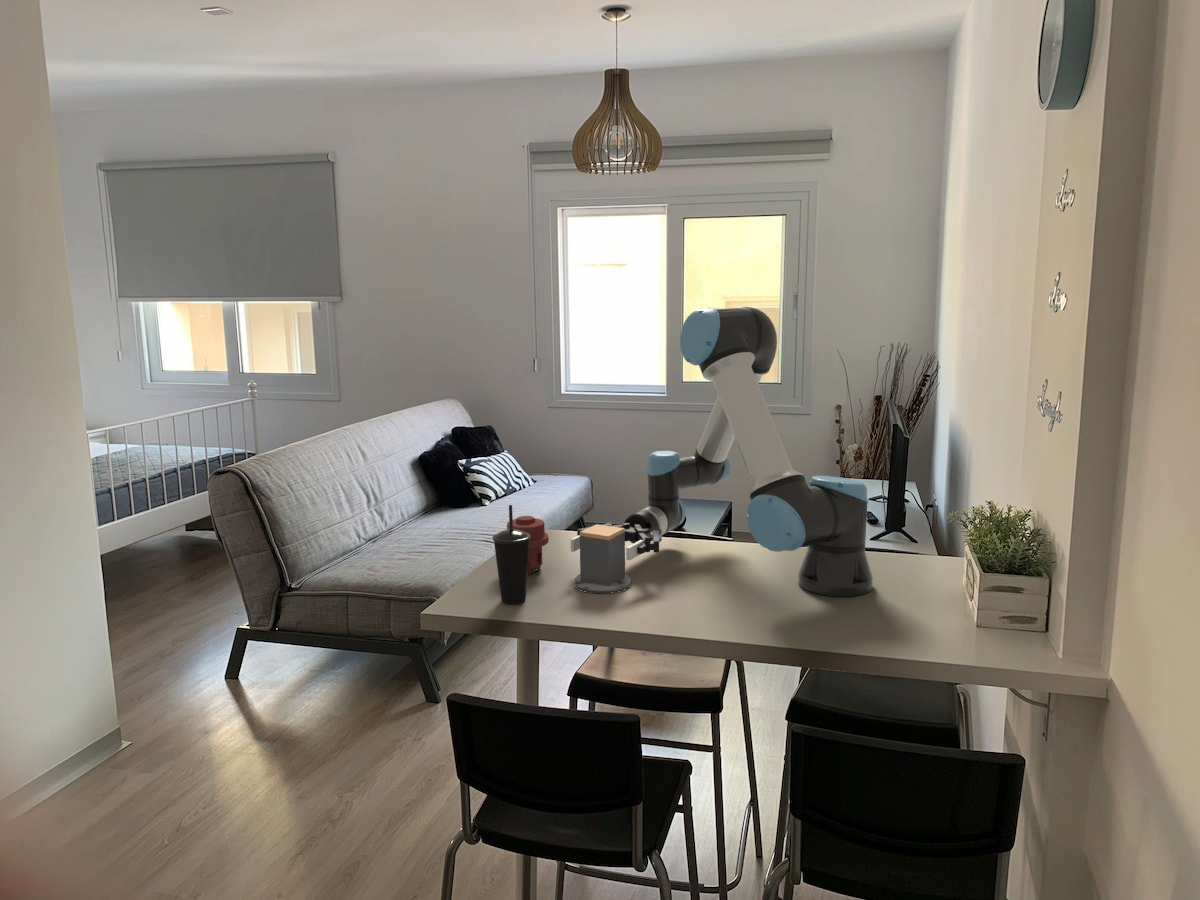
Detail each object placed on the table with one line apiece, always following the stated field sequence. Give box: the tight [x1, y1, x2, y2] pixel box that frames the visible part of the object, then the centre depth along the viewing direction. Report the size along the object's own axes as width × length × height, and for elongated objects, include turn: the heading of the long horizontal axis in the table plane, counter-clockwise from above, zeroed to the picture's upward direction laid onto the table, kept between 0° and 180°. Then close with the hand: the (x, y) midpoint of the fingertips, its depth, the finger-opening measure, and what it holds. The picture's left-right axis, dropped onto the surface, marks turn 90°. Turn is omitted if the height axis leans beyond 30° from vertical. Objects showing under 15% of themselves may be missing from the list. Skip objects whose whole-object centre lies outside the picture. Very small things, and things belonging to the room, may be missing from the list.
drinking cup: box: [491, 504, 531, 606], centre depth 182 cm, size 8×8×20 cm
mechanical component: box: [506, 515, 549, 575], centre depth 202 cm, size 12×10×10 cm
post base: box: [574, 573, 632, 594], centre depth 193 cm, size 12×12×7 cm
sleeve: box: [579, 523, 626, 586], centre depth 192 cm, size 7×7×11 cm
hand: (599, 549), depth 191 cm, fingers open, 13 cm apart
